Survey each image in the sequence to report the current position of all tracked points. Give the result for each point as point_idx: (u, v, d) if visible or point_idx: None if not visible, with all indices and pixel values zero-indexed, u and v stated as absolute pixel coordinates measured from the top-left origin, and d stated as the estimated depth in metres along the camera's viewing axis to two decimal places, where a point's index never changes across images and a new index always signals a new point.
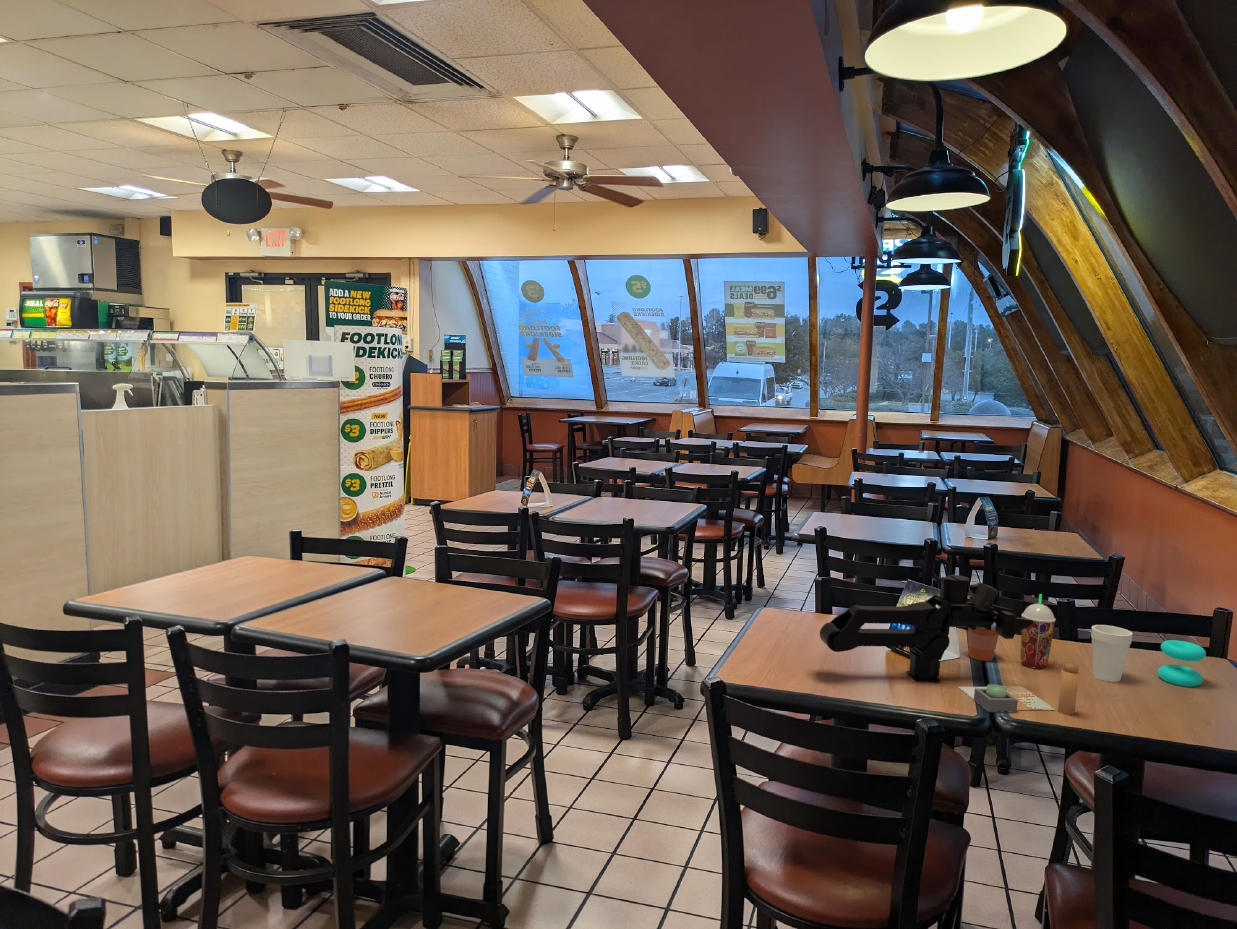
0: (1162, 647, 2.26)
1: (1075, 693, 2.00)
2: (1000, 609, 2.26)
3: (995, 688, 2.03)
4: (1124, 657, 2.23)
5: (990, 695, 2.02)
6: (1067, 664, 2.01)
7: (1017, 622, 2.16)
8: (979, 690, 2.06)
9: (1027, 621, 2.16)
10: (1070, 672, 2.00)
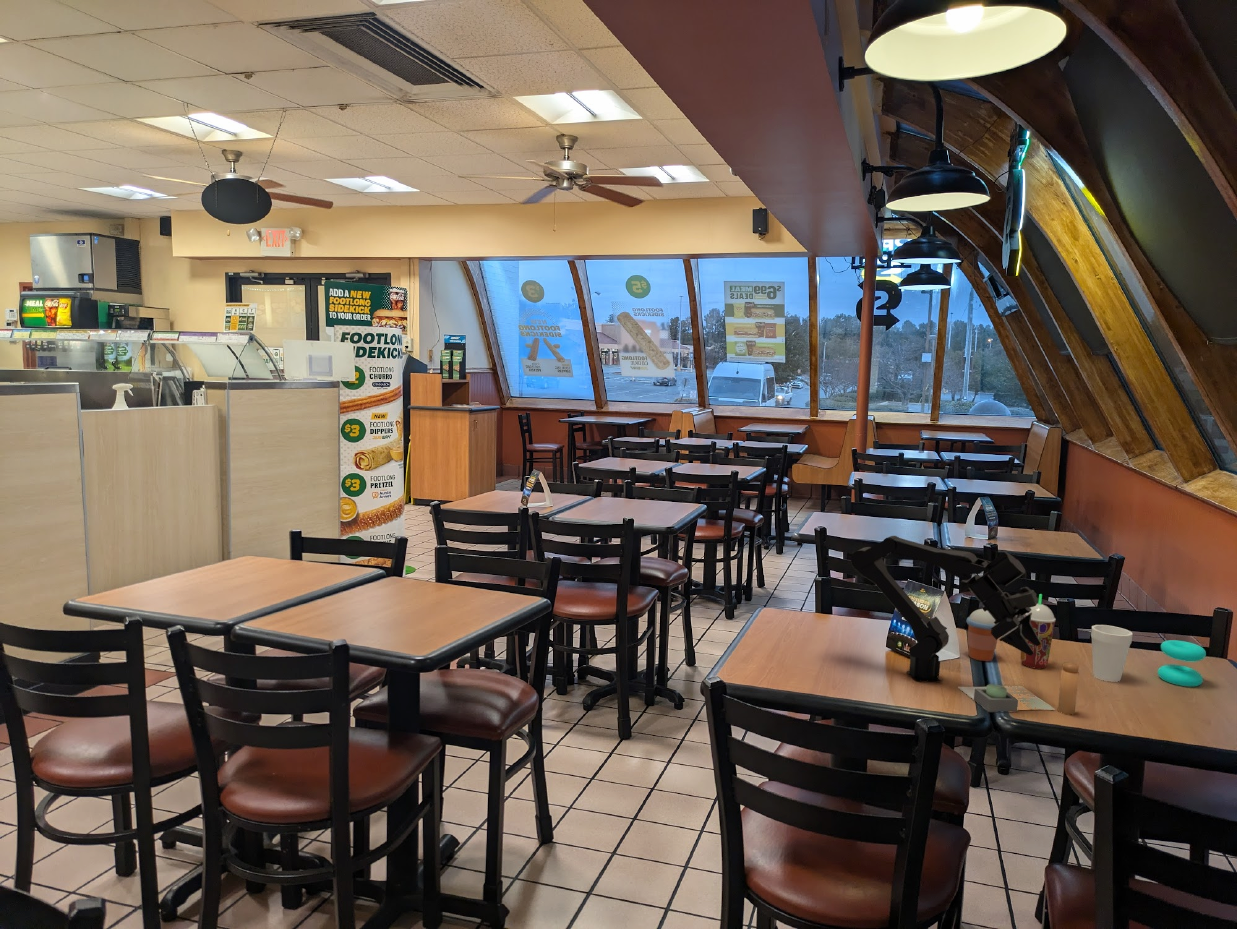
0: (1162, 647, 2.26)
1: (1075, 693, 2.00)
2: (1031, 632, 2.10)
3: (995, 688, 2.03)
4: (1124, 657, 2.23)
5: (990, 695, 2.02)
6: (1067, 664, 2.01)
7: (1018, 638, 2.02)
8: (979, 690, 2.06)
9: (1027, 648, 2.01)
10: (1070, 672, 2.00)
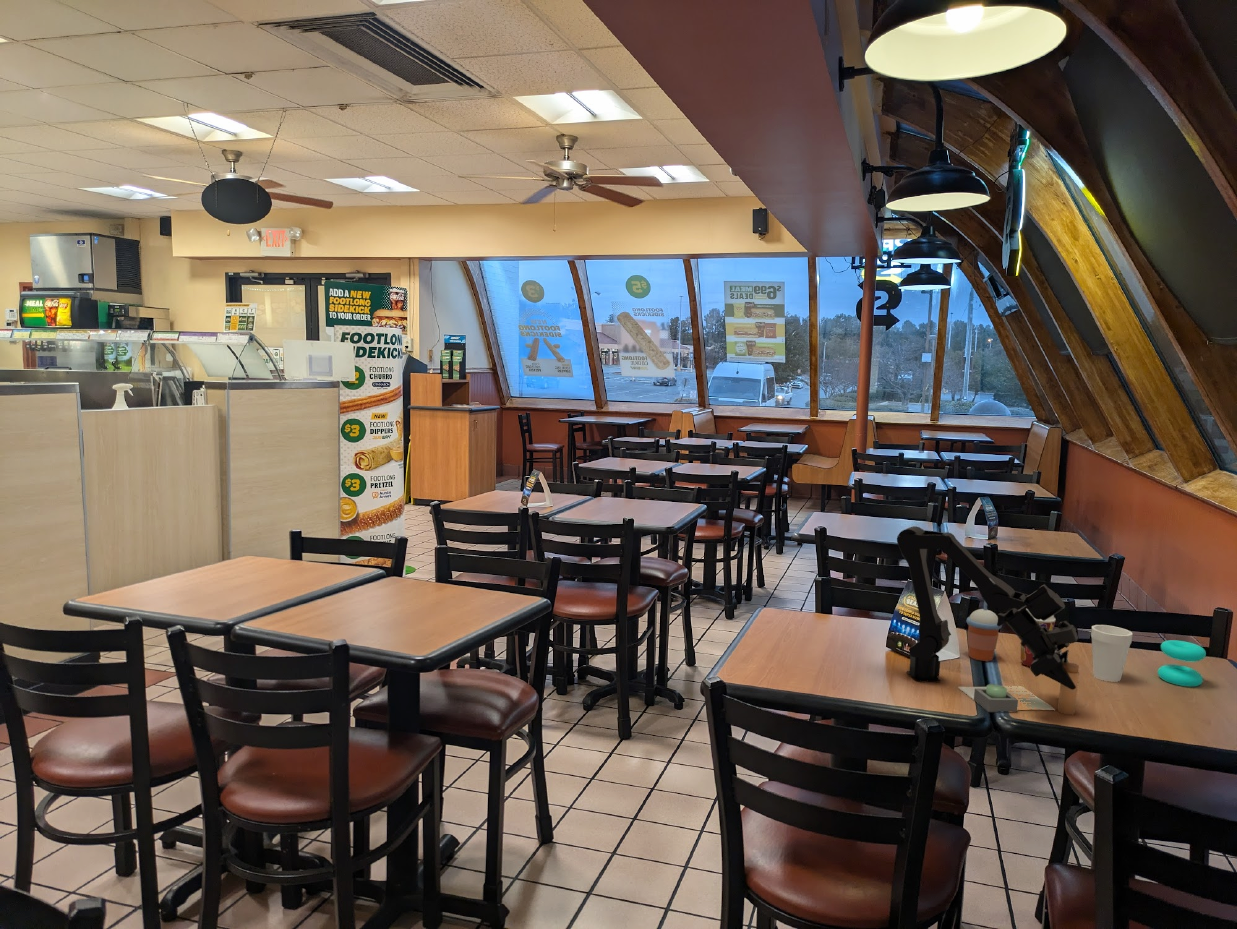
0: (1162, 647, 2.26)
1: (1075, 693, 2.00)
2: None
3: (995, 688, 2.03)
4: (1124, 657, 2.23)
5: (990, 695, 2.02)
6: (1067, 664, 2.01)
7: (1060, 672, 2.00)
8: (979, 690, 2.06)
9: (1070, 682, 1.99)
10: (1070, 672, 2.00)
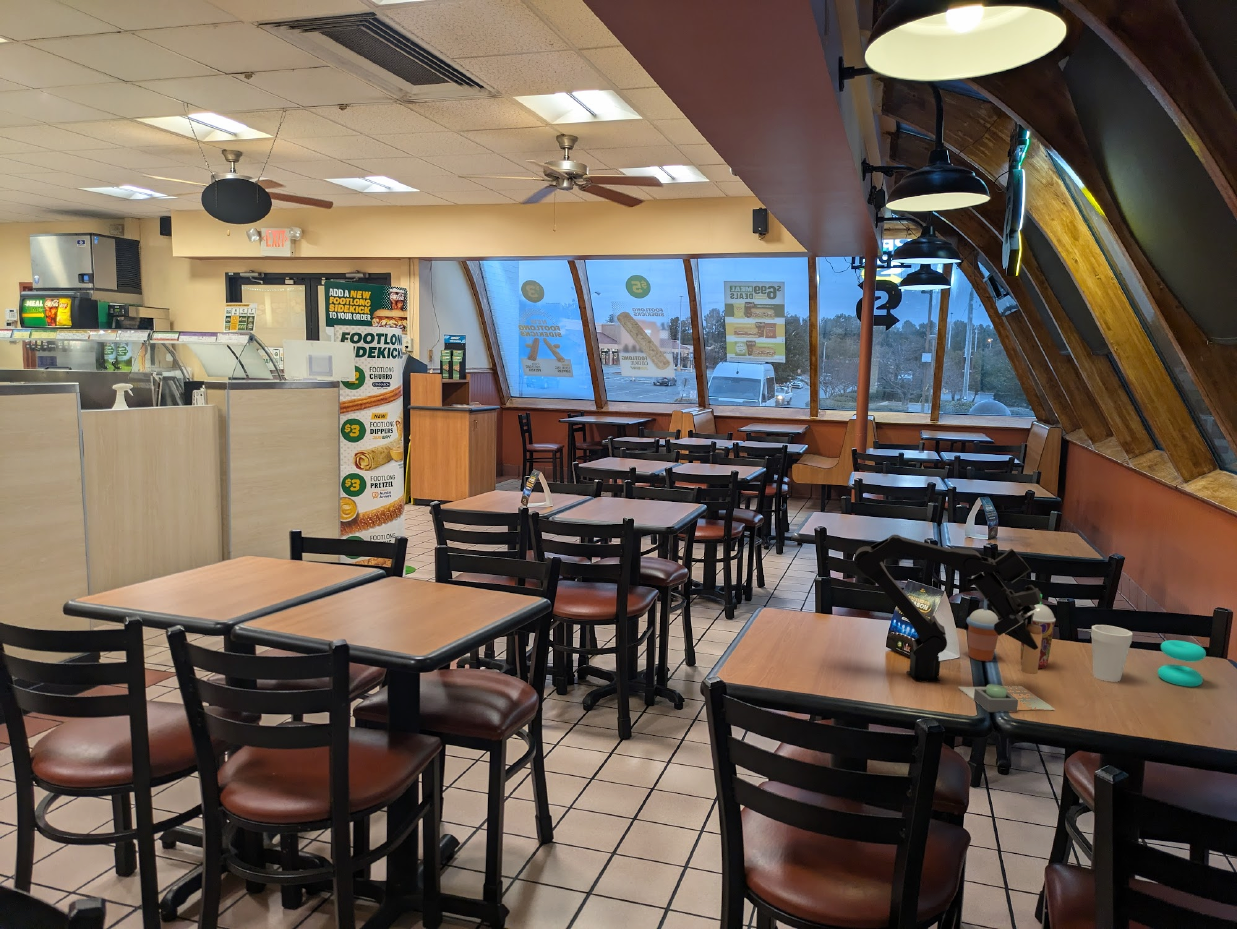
0: (1162, 647, 2.26)
1: (1038, 653, 2.08)
2: None
3: (995, 688, 2.03)
4: (1124, 657, 2.23)
5: (990, 695, 2.02)
6: (1031, 625, 2.09)
7: (1023, 633, 2.07)
8: (979, 690, 2.06)
9: (1032, 642, 2.07)
10: (1033, 633, 2.07)
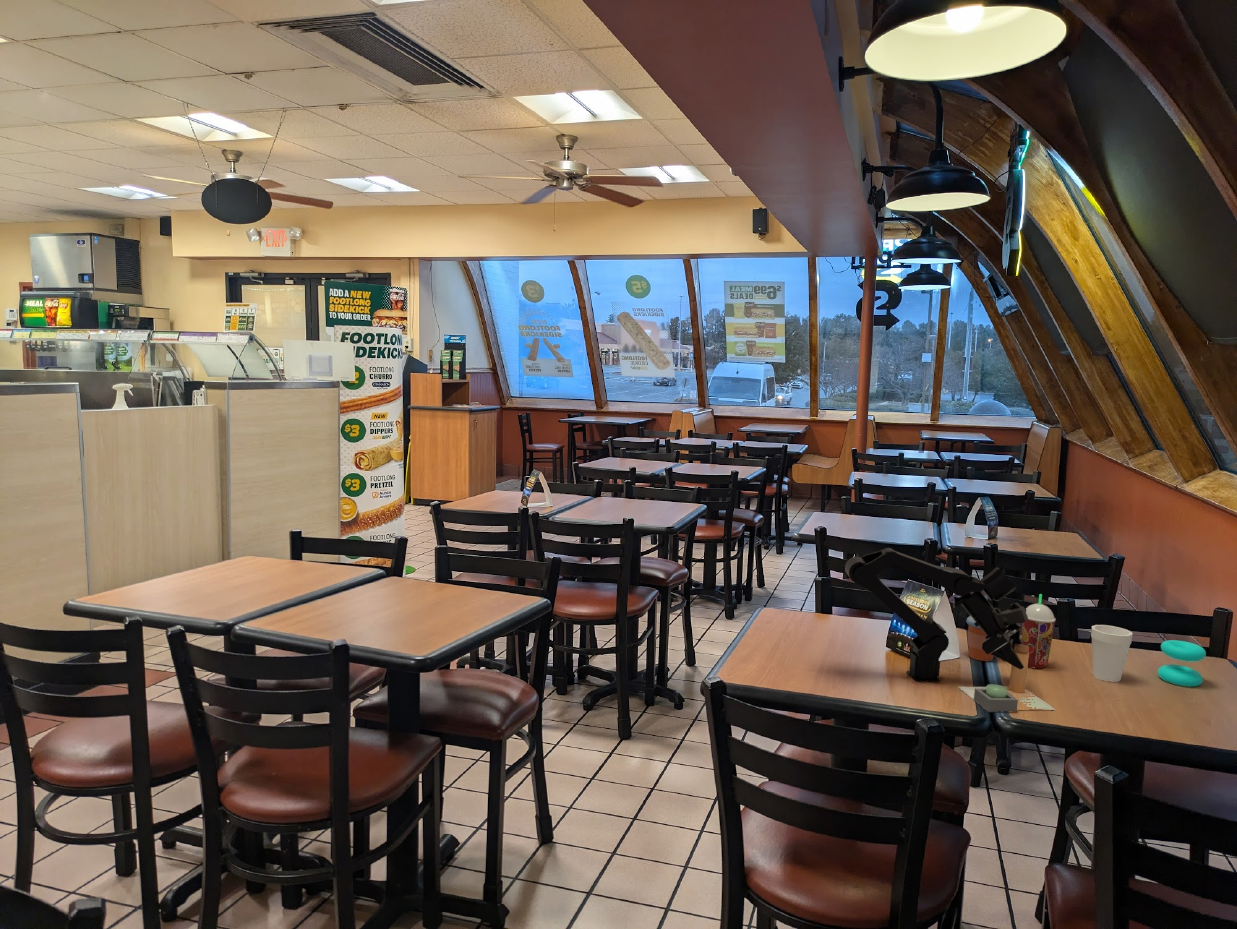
0: (1162, 647, 2.26)
1: (1025, 673, 2.12)
2: None
3: (995, 688, 2.03)
4: (1124, 657, 2.23)
5: (990, 695, 2.02)
6: (1018, 645, 2.12)
7: (1009, 653, 2.09)
8: (979, 690, 2.06)
9: (1018, 662, 2.09)
10: (1020, 653, 2.11)
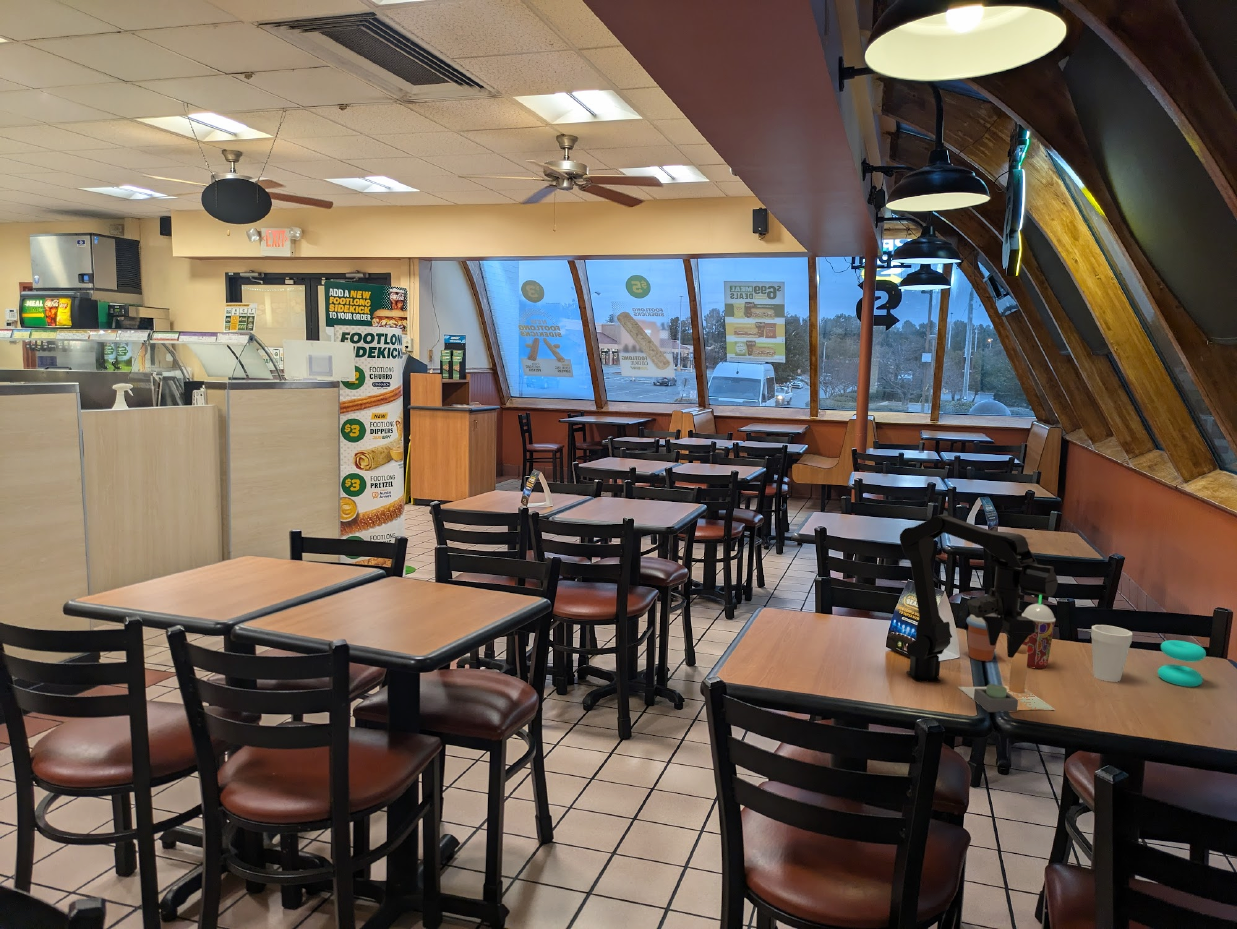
0: (1162, 647, 2.26)
1: (1024, 673, 2.12)
2: None
3: (995, 688, 2.03)
4: (1124, 657, 2.23)
5: (990, 695, 2.02)
6: None
7: None
8: (979, 690, 2.06)
9: None
10: (1019, 653, 2.11)
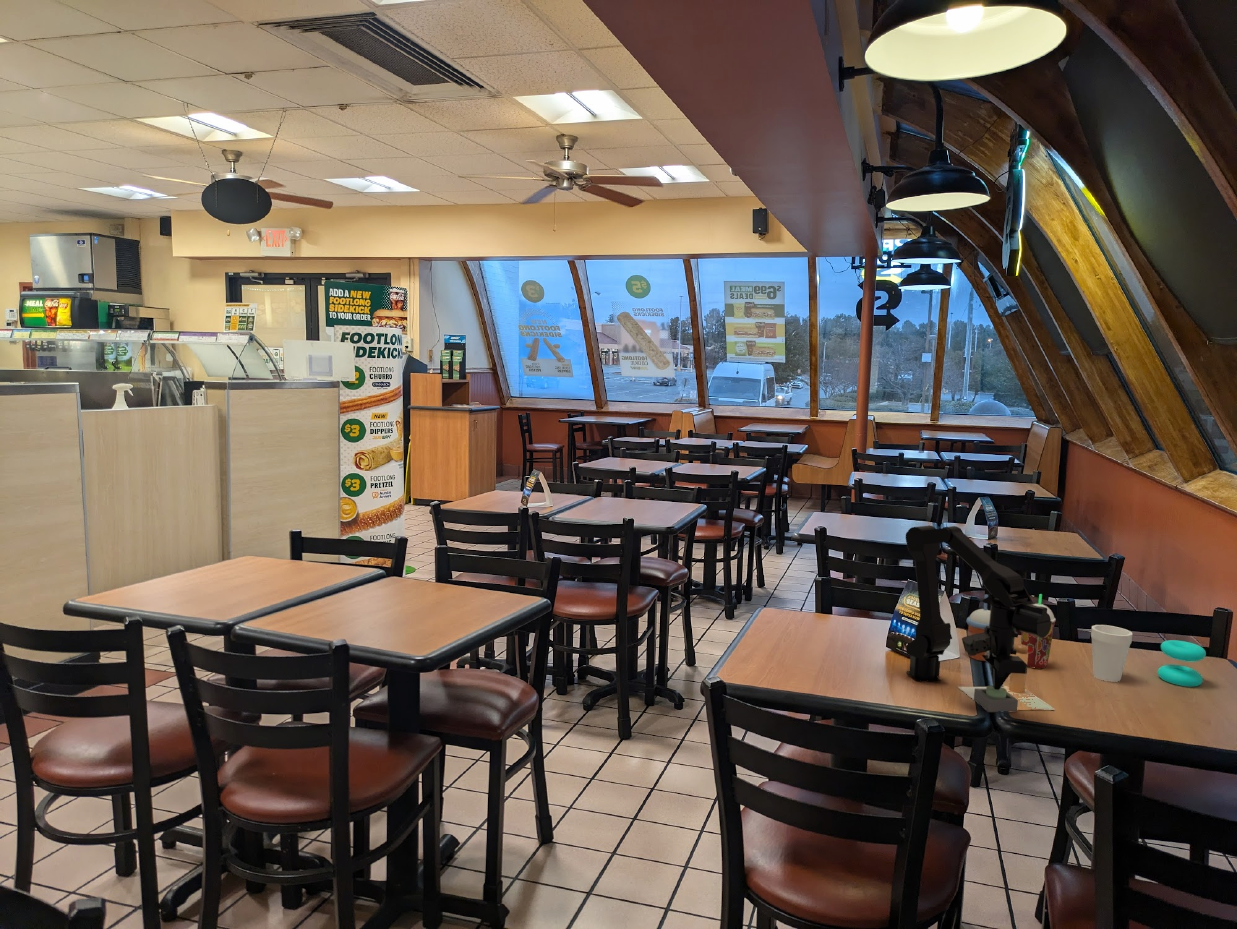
0: (1162, 647, 2.26)
1: None
2: None
3: (995, 690, 2.03)
4: (1124, 657, 2.23)
5: (990, 696, 2.03)
6: (1017, 645, 2.13)
7: None
8: (979, 690, 2.06)
9: None
10: (1020, 653, 2.11)
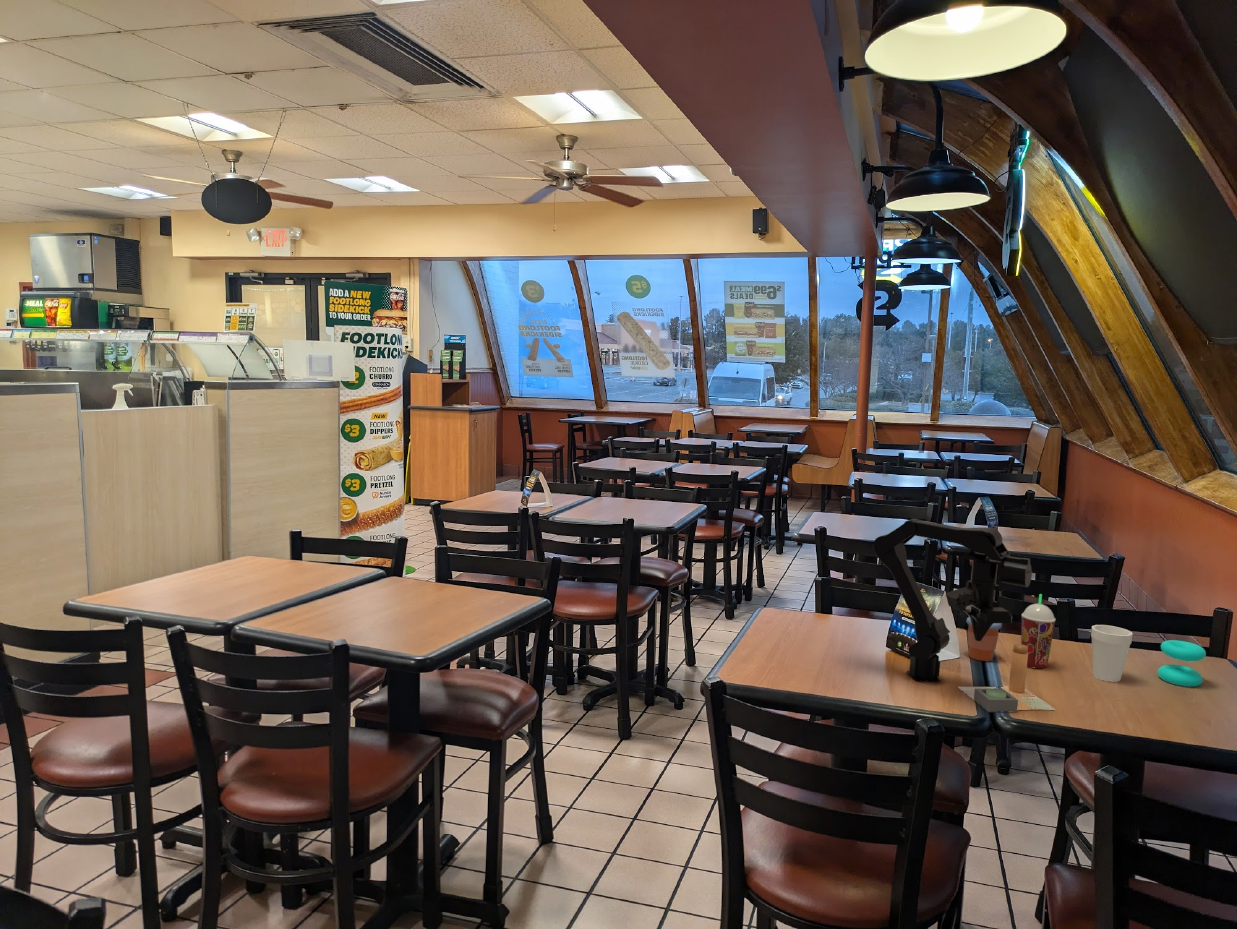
0: (1162, 647, 2.26)
1: (1024, 673, 2.12)
2: None
3: (995, 693, 2.03)
4: (1124, 657, 2.23)
5: None
6: (1017, 645, 2.12)
7: None
8: (979, 690, 2.06)
9: None
10: (1019, 653, 2.11)
